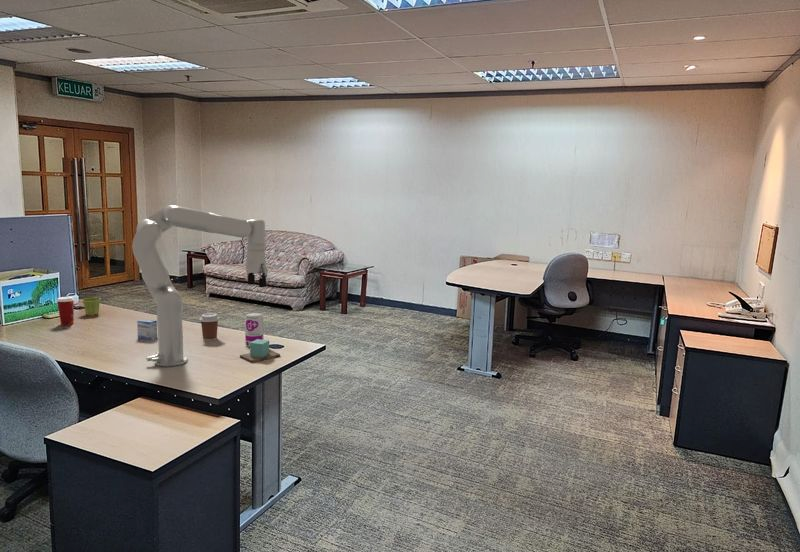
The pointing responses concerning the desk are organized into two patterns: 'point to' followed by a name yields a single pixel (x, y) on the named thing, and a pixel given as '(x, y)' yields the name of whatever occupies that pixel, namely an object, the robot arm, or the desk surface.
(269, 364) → the desk surface
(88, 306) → the plant pot
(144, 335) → the medicine box
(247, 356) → the post board
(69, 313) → the paper cup
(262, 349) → the teal cube
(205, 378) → the desk surface
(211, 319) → the coffee cup
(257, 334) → the supplement can
